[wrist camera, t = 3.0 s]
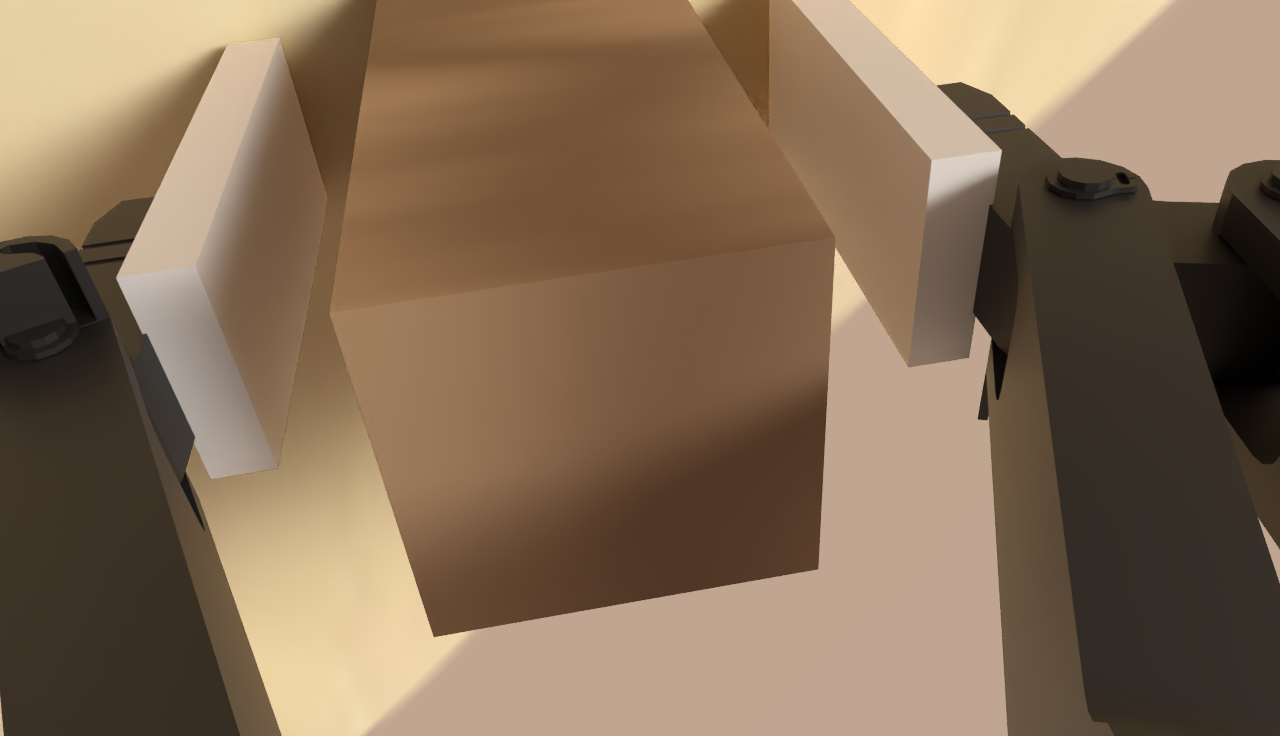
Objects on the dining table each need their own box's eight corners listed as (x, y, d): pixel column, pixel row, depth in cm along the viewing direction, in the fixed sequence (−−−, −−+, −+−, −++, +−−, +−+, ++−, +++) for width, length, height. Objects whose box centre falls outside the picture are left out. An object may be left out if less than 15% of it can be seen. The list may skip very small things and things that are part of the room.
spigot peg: (434, 211, 17) (434, 636, 10) (380, -29, 15) (329, 313, 8) (665, 178, 18) (818, 569, 10) (649, -62, 15) (835, 237, 8)
